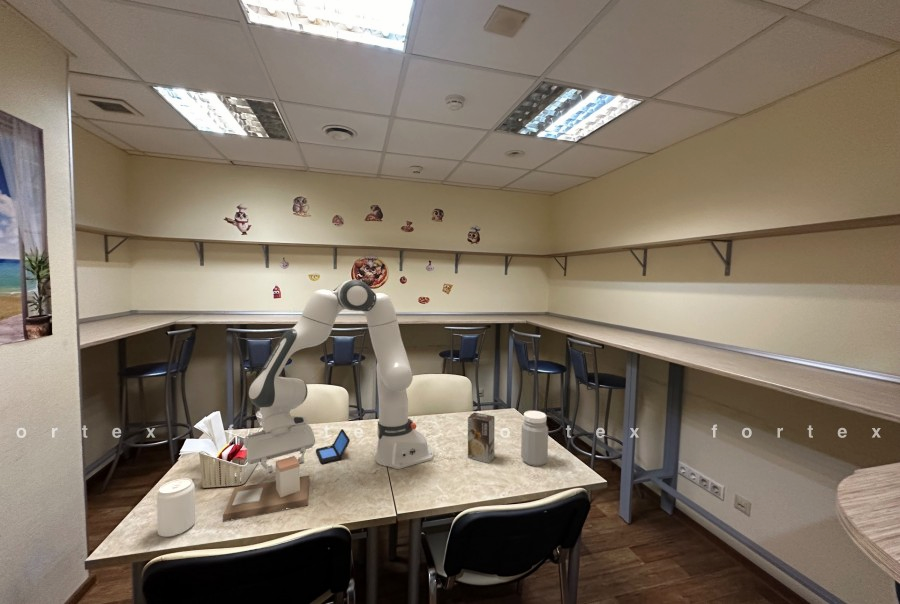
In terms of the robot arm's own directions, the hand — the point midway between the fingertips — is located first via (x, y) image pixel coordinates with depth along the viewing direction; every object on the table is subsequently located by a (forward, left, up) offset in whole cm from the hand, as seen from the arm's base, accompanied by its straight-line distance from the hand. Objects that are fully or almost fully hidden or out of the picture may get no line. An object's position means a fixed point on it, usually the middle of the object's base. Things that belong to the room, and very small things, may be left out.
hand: (286, 467), depth 111 cm
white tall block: (0, +1, -7) cm, 7 cm away
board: (+5, +1, -9) cm, 10 cm away
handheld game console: (-14, -23, -9) cm, 29 cm away
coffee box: (-68, -2, -9) cm, 69 cm away
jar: (-86, +7, -9) cm, 87 cm away
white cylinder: (+27, +7, -9) cm, 29 cm away
